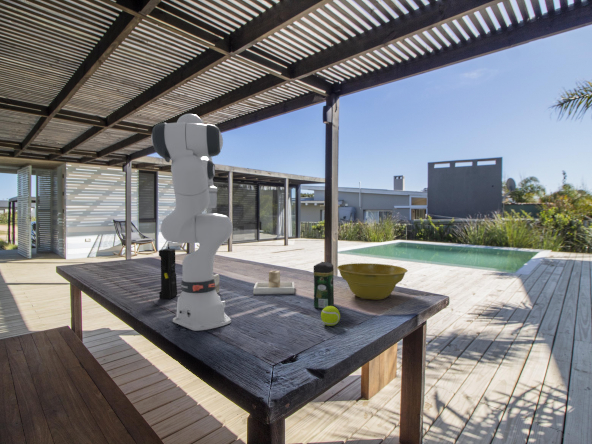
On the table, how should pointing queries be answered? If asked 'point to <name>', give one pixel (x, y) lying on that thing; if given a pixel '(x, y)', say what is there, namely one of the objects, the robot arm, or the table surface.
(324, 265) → the coffee jar
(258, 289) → the tray
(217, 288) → the block
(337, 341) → the table surface
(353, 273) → the planter bowl
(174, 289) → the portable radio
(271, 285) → the block
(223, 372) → the table surface
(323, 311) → the tennis ball
